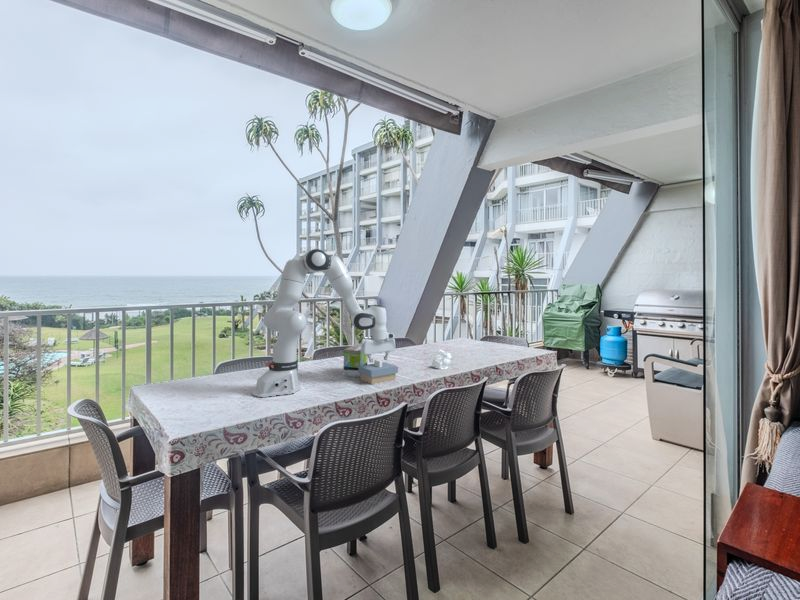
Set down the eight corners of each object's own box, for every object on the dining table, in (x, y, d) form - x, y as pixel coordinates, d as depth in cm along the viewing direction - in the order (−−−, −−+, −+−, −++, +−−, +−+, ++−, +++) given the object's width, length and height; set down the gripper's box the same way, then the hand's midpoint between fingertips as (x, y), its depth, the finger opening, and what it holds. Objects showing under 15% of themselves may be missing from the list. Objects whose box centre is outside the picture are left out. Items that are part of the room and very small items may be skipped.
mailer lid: (371, 377, 201) (371, 364, 200) (358, 372, 211) (358, 360, 211) (397, 372, 211) (398, 360, 210) (384, 368, 221) (384, 356, 221)
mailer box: (371, 384, 202) (372, 371, 202) (360, 379, 211) (360, 367, 211) (395, 380, 211) (395, 367, 211) (383, 375, 220) (383, 363, 220)
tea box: (360, 376, 217) (360, 350, 217) (342, 375, 219) (342, 349, 219) (367, 370, 232) (368, 345, 231) (351, 369, 234) (351, 345, 233)
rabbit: (452, 367, 241) (452, 348, 240) (447, 371, 232) (448, 351, 232) (433, 366, 246) (433, 347, 245) (428, 369, 237) (428, 349, 236)
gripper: (365, 338, 201) (365, 364, 202) (397, 334, 214) (397, 359, 214) (358, 336, 206) (358, 362, 207) (390, 332, 219) (390, 357, 219)
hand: (378, 360), depth 211 cm, fingers open, 8 cm apart
